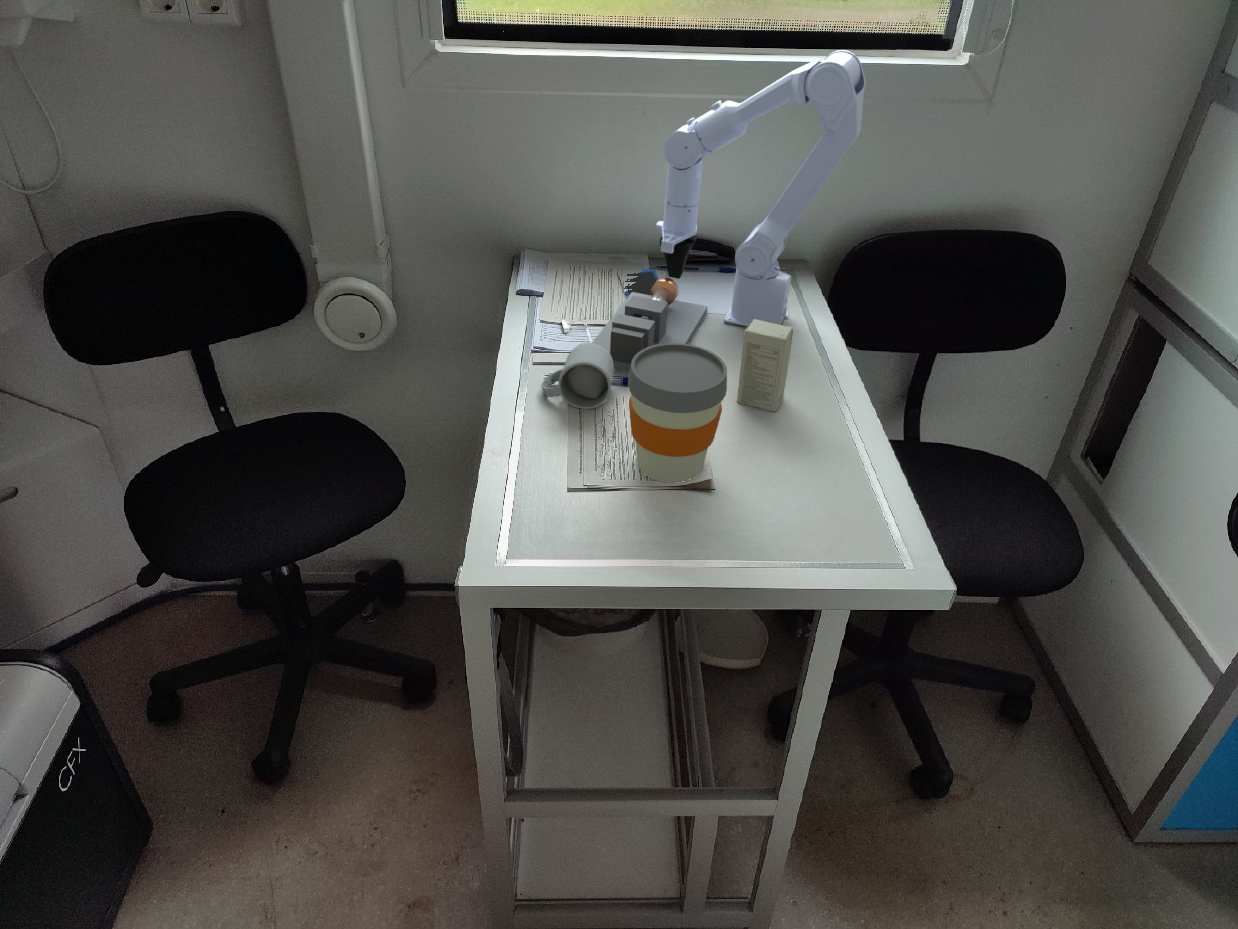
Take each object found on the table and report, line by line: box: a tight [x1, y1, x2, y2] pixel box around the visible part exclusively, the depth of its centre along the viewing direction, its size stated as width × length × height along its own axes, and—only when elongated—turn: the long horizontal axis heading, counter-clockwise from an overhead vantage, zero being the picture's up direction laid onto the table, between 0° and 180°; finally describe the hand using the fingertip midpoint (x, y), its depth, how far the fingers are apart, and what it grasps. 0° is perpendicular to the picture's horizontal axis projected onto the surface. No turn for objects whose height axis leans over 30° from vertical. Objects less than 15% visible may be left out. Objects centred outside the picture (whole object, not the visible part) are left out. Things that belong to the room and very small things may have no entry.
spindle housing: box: [592, 292, 708, 373], centre depth 141 cm, size 14×24×7 cm, turn 161°
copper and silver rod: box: [637, 276, 680, 320], centre depth 143 cm, size 4×12×4 cm, turn 161°
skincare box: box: [736, 319, 795, 412], centre depth 126 cm, size 6×4×12 cm
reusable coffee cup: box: [627, 343, 728, 484], centre depth 111 cm, size 13×13×15 cm
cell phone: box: [624, 268, 659, 298], centre depth 159 cm, size 7×14×1 cm, turn 9°
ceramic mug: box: [541, 342, 615, 410], centre depth 127 cm, size 11×8×8 cm
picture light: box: [560, 317, 594, 343], centre depth 145 cm, size 14×4×2 cm, turn 12°
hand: (675, 276), depth 152 cm, fingers closed
